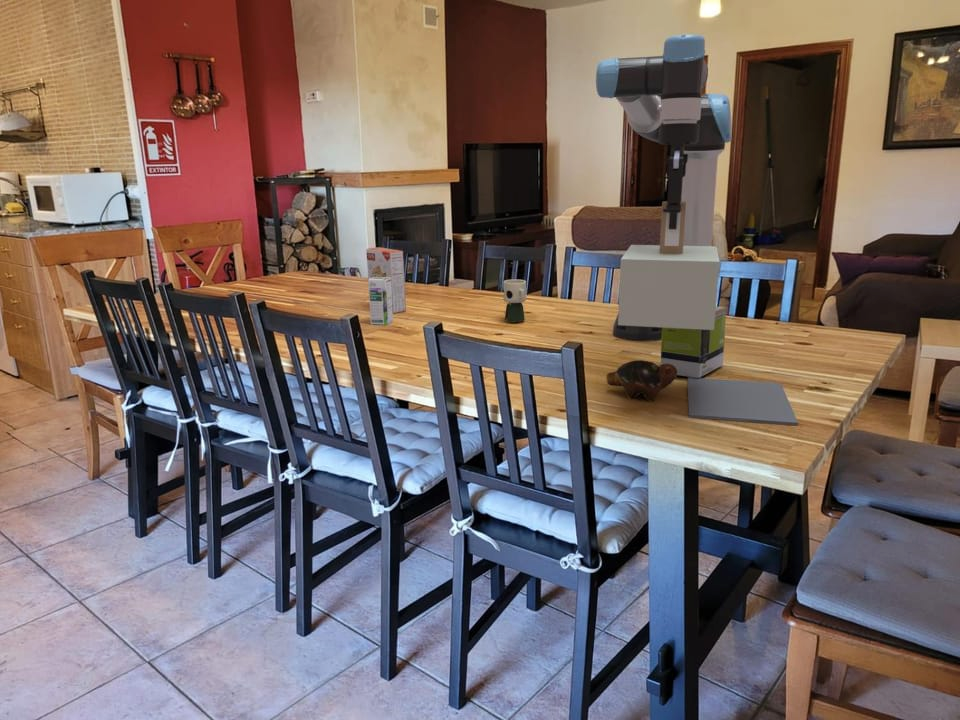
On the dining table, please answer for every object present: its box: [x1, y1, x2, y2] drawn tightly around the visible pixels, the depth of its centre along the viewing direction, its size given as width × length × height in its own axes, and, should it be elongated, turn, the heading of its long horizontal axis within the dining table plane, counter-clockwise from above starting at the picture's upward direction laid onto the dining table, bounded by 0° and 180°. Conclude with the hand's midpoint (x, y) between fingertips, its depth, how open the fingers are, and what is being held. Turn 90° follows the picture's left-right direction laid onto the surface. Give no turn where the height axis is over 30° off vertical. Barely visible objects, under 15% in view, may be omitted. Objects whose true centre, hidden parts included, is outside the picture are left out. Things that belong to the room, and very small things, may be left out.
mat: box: [687, 377, 799, 427], centre depth 147 cm, size 25×20×1 cm
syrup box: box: [367, 277, 394, 326], centre depth 220 cm, size 6×6×14 cm
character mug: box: [502, 279, 527, 324], centre depth 219 cm, size 11×7×13 cm, turn 26°
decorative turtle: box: [606, 359, 678, 402], centre depth 151 cm, size 10×15×8 cm, turn 69°
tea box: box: [659, 306, 727, 378], centre depth 166 cm, size 15×10×15 cm, turn 141°
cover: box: [617, 200, 720, 330], centre depth 142 cm, size 23×18×23 cm
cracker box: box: [365, 246, 407, 315], centre depth 238 cm, size 14×6×21 cm, turn 42°
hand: (672, 244), depth 142 cm, fingers closed on cover, 4 cm apart
